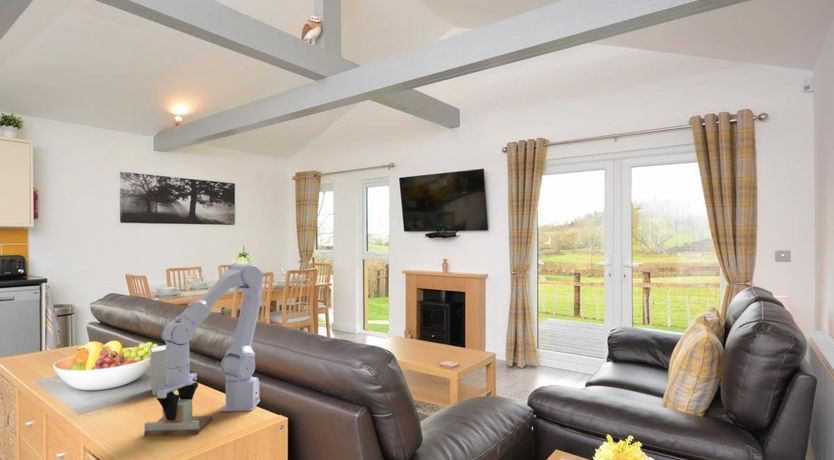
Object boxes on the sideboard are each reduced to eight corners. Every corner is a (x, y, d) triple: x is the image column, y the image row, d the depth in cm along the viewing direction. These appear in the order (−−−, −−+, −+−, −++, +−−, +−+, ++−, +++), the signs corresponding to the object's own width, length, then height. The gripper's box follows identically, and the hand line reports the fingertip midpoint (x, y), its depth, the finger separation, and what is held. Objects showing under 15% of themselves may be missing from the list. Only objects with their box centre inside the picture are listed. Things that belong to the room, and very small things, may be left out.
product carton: (172, 420, 124) (171, 399, 124) (192, 421, 124) (192, 399, 124) (162, 427, 120) (162, 405, 120) (183, 427, 120) (183, 405, 120)
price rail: (199, 428, 119) (199, 420, 119) (197, 429, 118) (197, 422, 118) (146, 429, 119) (146, 422, 119) (144, 431, 118) (144, 423, 118)
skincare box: (172, 392, 150) (171, 348, 150) (151, 396, 147) (151, 351, 147) (170, 385, 157) (169, 343, 157) (150, 389, 154) (149, 346, 154)
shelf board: (212, 419, 127) (212, 415, 127) (197, 434, 118) (197, 429, 118) (162, 421, 127) (162, 417, 127) (144, 435, 118) (144, 431, 118)
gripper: (174, 374, 115) (175, 426, 114) (206, 358, 129) (207, 404, 129) (149, 373, 115) (149, 426, 115) (183, 357, 130) (184, 404, 130)
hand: (178, 414), depth 122 cm, fingers open, 6 cm apart
